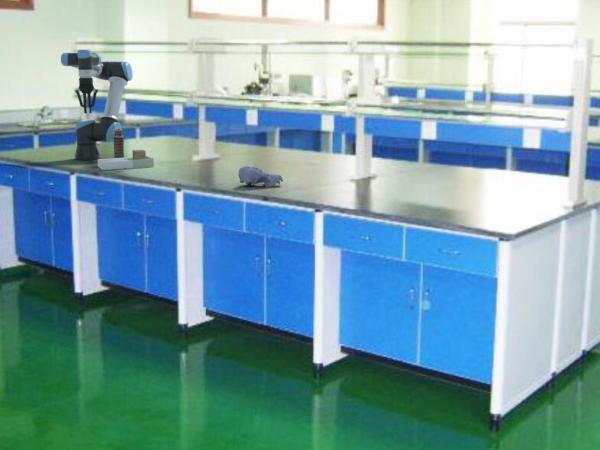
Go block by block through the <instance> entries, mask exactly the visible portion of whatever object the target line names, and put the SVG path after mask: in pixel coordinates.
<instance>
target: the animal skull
mask: <svg viewBox="0 0 600 450" xmlns="http://www.w3.org/2000/svg"><path fill="white" fill-rule="evenodd" d="M238 178H239V183H241V184H244V183H245V184H246V185H247V186H252V185H258V184H261V183H262V184H263V183H264V184H263V185H264V187H266V188H272V187H276V184H278V185H279V187H280V186H281V183H283V182H284V179H283V177H282V176H281V175H279V174H271V173H269V172H268V171H265V170H263V169H261V168H260V167H257V166H248V165H244V166H241V167H240V168H239V170H238Z"/></svg>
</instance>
